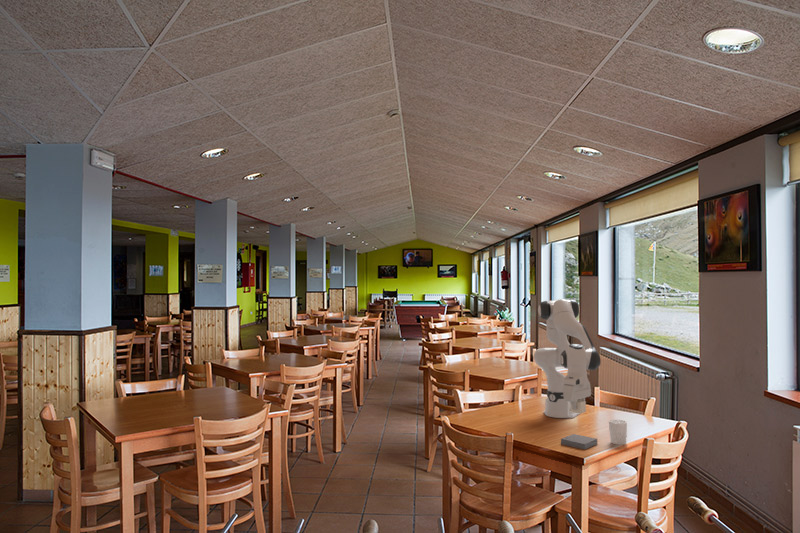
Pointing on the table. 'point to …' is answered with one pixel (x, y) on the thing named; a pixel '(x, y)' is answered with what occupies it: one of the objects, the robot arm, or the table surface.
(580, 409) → the cube
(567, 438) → the base
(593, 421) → the table surface
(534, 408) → the table surface
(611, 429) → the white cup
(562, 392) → the robot arm
